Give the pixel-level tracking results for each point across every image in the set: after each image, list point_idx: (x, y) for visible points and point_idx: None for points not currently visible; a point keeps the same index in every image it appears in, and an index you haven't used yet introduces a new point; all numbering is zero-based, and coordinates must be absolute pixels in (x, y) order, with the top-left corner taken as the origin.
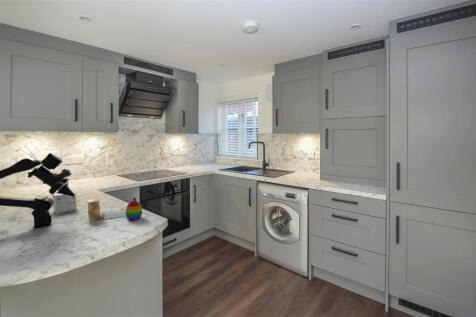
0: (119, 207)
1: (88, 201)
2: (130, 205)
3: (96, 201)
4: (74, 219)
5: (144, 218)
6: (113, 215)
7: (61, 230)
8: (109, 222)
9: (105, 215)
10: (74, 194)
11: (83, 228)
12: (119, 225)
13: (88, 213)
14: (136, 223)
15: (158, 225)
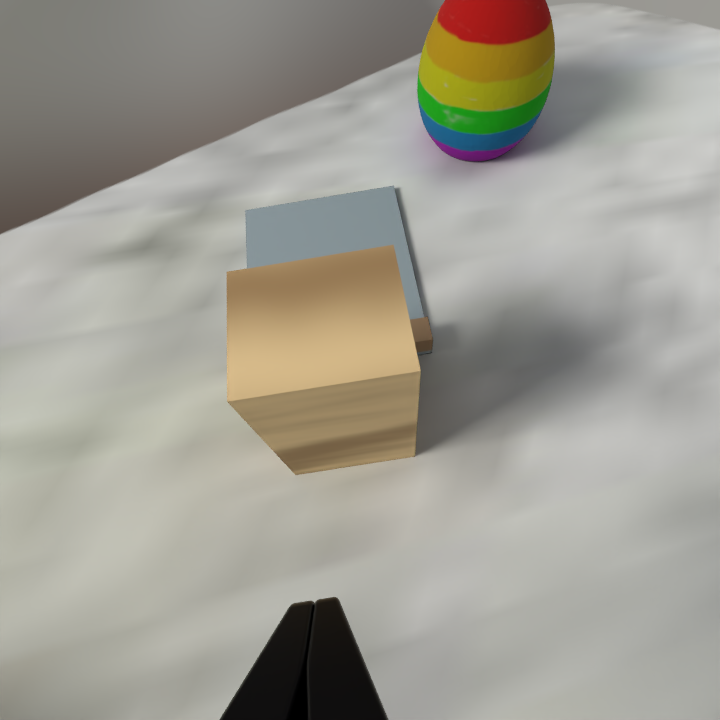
0: (59, 283)
1: (363, 371)
2: (544, 14)
3: (397, 266)
4: None
5: None
6: None
7: (716, 671)
8: (523, 268)
9: None
10: (327, 604)
11: (666, 439)
12: (619, 191)
13: (415, 429)
14: (589, 110)
15: (651, 15)
